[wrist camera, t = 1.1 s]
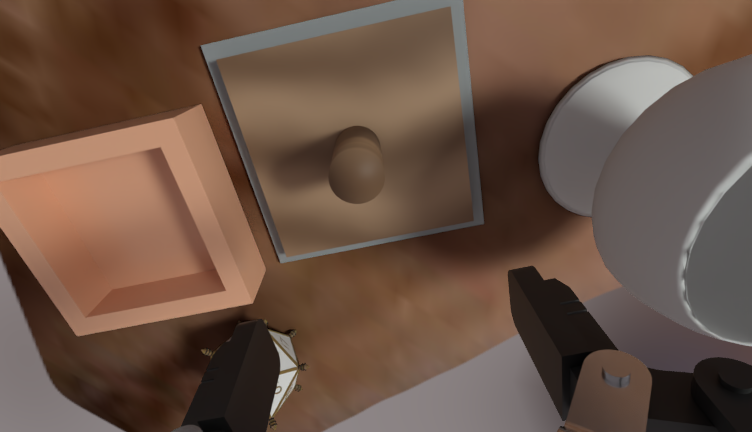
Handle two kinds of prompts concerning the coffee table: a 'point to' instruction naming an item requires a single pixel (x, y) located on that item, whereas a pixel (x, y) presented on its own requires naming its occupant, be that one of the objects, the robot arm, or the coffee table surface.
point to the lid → (356, 131)
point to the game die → (287, 369)
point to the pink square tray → (130, 221)
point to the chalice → (663, 184)
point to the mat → (406, 4)
